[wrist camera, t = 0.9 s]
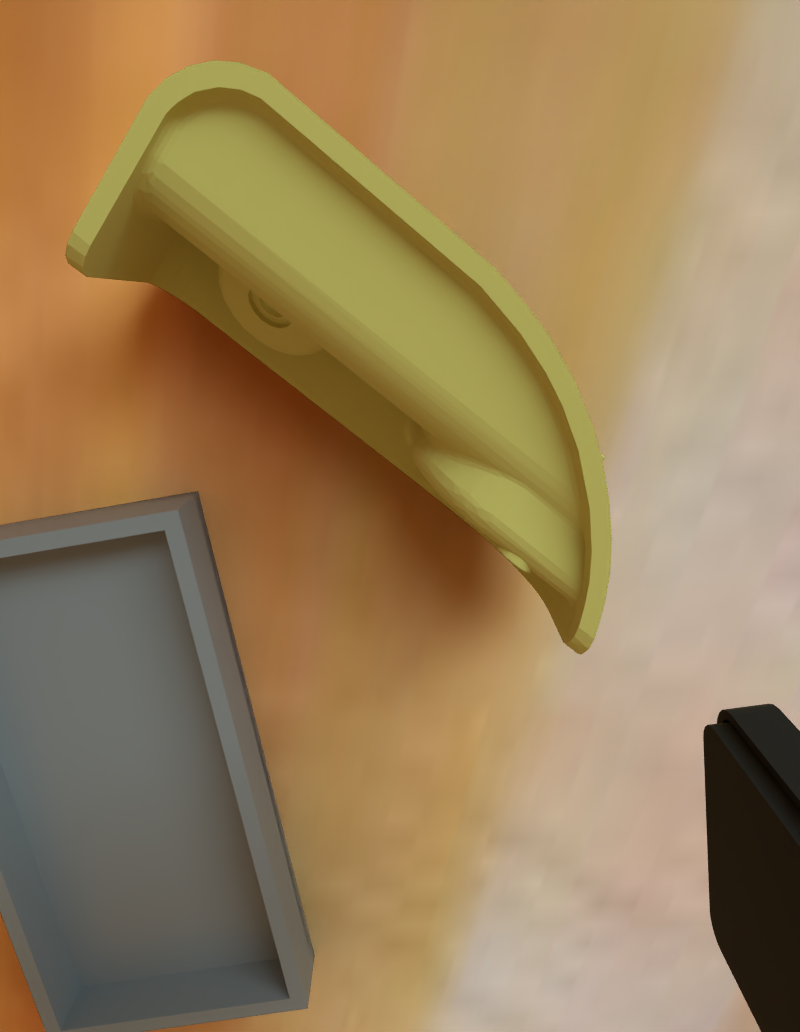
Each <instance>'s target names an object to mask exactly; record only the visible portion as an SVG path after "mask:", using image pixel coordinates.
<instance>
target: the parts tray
mask: <svg viewBox="0 0 800 1032" xmlns="http://www.w3.org/2000/svg"><path fill="white" fill-rule="evenodd" d="M0 913H1V915H2V918H3V921H4V923H5V926H6V928H7V931H8V934H9V936H10V939H11V942H12V944H13V947H14V950H15V952H16V955H17V957H18V960H19V963H20V965H21V968H22V971H23V973H24V976H25V978H26V981H27V984H28V986H29V989H30V992H31V994H32V997H33V1000H34V1002H35V1005H36V1007H37V1010H38V1013H39V1015H40V1018H41V1021H42V1023H43V1026H44V1028H45V1031H46V1032H143V1031H150V1030H158V1029H165V1028H172V1027H179V1026H186V1025H193V1024H200V1023H207V1022H214V1021H222V1020H229V1019H236V1018H243V1017H250V1016H257V1015H264V1014H271V1013H278V1012H286V1011H293V1010H300V1009H307V1008H308V1002H309V994H310V987H311V979H312V971H313V963H314V952H313V948H312V944H311V940H310V936H309V932H308V928H307V924H306V920H305V916H304V912H303V908H302V904H301V900H300V896H299V892H298V888H297V884H296V880H295V876H294V872H293V868H292V864H291V860H290V856H289V852H288V848H287V844H286V840H285V836H284V832H283V828H282V824H281V820H280V816H279V813H278V809H277V805H276V801H275V797H274V793H273V789H272V785H271V781H270V777H269V773H268V769H267V765H266V761H265V757H264V753H263V749H262V745H261V741H260V737H259V733H258V729H257V725H256V721H255V717H254V713H253V709H252V705H251V701H250V697H249V693H248V689H247V685H246V681H245V677H244V673H243V669H242V665H241V661H240V658H239V654H238V650H237V646H236V642H235V638H234V634H233V630H232V626H231V622H230V618H229V614H228V610H227V606H226V602H225V598H224V594H223V590H222V586H221V582H220V578H219V574H218V570H217V566H216V562H215V558H214V554H213V550H212V546H211V542H210V538H209V534H208V530H207V526H206V522H205V518H204V514H203V510H202V506H201V502H200V499H199V495H198V491H197V492H191V493H185V494H179V495H173V496H167V497H162V498H156V499H150V500H144V501H138V502H132V503H127V504H121V505H115V506H109V507H103V508H97V509H92V510H86V511H80V512H74V513H68V514H62V515H57V516H51V517H45V518H39V519H33V520H28V521H22V522H16V523H10V524H4V525H0Z"/></svg>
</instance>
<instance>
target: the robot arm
mask: <svg viewBox="0 0 800 1032" xmlns="http://www.w3.org/2000/svg"><path fill="white" fill-rule="evenodd" d="M704 765H705V792H706V819H707V845H708V872H709V899H710V916H711V922H712V926H713V930H714V934H715V937H716V940H717V943H718V945H719V947H720V950H721V952H722V954H723V956H724V958H725V960H726V962H727V964H728V966H729V968H730V970H731V972H732V974H733V976H734V978H735V980H736V982H737V984H738V986H739V988H740V990H741V992H742V994H743V996H744V998H745V1000H746V1002H747V1004H748V1006H749V1008H750V1010H751V1012H752V1014H753V1016H754V1018H755V1020H756V1022H757V1024H758V1026H759V1028H760V1030H761V1032H800V731H799V730H798V729H797V728H796V727H795V726H794V724H793V723H792V722H791V721H790V720H789V719H788V718H787V717H786V716H785V715H784V714H783V713H782V712H781V710H780V709H779V708H777V707H776V706H775V705H773V704H764V705H756V706H749V707H741V708H733V709H726V710H722V711H721V712H720V713H719V715H718V719H717V724H712V725H707V726H706V727H705V729H704Z"/></svg>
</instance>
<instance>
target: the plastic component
mask: <svg viewBox="0 0 800 1032" xmlns="http://www.w3.org/2000/svg"><path fill="white" fill-rule="evenodd" d="M65 256H66V258H67V261H68V264H70V265H71V266H73V267H74V268H75V269H77V270H78V271H79V272H81V273H82V274H83V275H85V276H86V277H94V278H104V279H115V280H126V281H136V282H147V283H150V284H153V285H155V286H158V287H159V288H161V289H163V290H165V291H167V292H169V293H170V294H172V295H174V296H175V297H177V298H178V299H180V300H181V301H183V302H184V303H186V304H187V305H189V306H190V307H191V308H193V309H194V310H196V311H197V312H198V313H200V314H201V315H202V316H203V317H205V318H206V319H207V320H209V321H210V322H211V323H212V324H214V325H215V326H216V327H218V328H219V329H220V330H221V331H223V332H224V333H225V334H227V335H228V336H229V337H230V338H232V339H233V340H234V341H236V342H237V343H238V344H239V345H241V346H242V347H243V348H245V349H246V350H247V351H248V352H250V353H251V354H252V355H253V356H255V357H256V358H257V359H259V360H260V361H261V362H262V363H264V364H265V365H266V366H268V367H269V368H270V369H271V370H273V371H274V372H275V373H277V374H278V375H279V376H280V377H282V378H283V379H284V380H286V381H287V382H288V383H289V384H291V385H292V386H293V387H295V388H296V389H297V390H298V391H300V392H301V393H302V394H304V395H305V396H306V397H307V398H309V399H310V400H311V401H312V402H314V403H315V404H316V405H318V406H319V407H320V408H321V409H323V410H324V411H325V412H327V413H328V414H329V415H330V416H332V417H333V418H334V419H336V420H337V421H338V422H339V423H341V424H342V425H343V426H345V427H346V428H347V429H348V430H350V431H351V432H352V433H354V434H355V435H356V436H357V437H359V438H360V439H361V440H362V441H364V442H365V443H366V444H368V445H369V446H370V447H371V448H373V449H374V450H375V451H377V452H378V453H379V454H380V455H382V456H383V457H384V458H386V459H387V460H388V461H389V462H391V463H392V464H393V465H395V466H396V467H397V468H398V469H400V470H401V471H402V472H404V473H405V474H406V475H407V476H409V477H410V478H411V479H412V480H414V481H415V482H416V483H418V484H419V485H420V486H421V487H423V488H424V489H425V490H426V491H428V492H429V493H430V494H432V495H433V496H434V497H435V498H437V499H438V500H439V501H440V502H442V503H443V504H444V505H445V506H447V507H448V508H449V509H450V510H452V511H453V512H454V513H455V514H457V515H458V516H459V517H460V518H461V519H463V520H464V521H465V522H466V523H468V524H469V525H470V526H471V527H472V528H473V529H475V530H476V531H477V532H478V533H479V534H481V535H482V536H483V537H484V538H485V539H486V540H487V541H488V542H490V543H491V544H492V545H493V546H494V547H495V548H496V549H497V550H498V551H499V552H500V553H502V554H503V555H504V556H505V557H506V558H507V559H508V560H509V561H510V562H511V563H512V564H513V565H514V566H515V567H516V568H517V569H518V571H519V572H520V573H521V574H522V575H523V576H524V577H525V578H526V579H527V580H528V582H529V583H530V584H531V585H532V586H533V587H534V589H535V590H536V591H537V593H538V594H539V595H540V597H541V598H542V600H543V601H544V603H545V605H546V607H547V608H548V610H549V612H550V614H551V617H552V619H553V621H554V623H555V625H556V627H557V629H558V632H559V634H560V636H561V638H562V640H563V642H564V643H565V644H566V645H567V646H569V647H570V648H571V649H573V650H574V651H575V652H576V653H578V654H583V653H584V652H585V651H587V650H588V649H589V648H590V646H591V644H592V642H593V640H594V638H595V635H596V632H597V629H598V626H599V623H600V619H601V615H602V612H603V608H604V604H605V599H606V593H607V588H608V582H609V576H610V564H611V541H612V537H611V520H610V504H609V497H608V491H607V485H606V478H605V472H604V466H603V462H602V461H603V460H604V458H605V457H604V456H603V455H602V454H601V453H600V451H599V447H598V443H597V439H596V435H595V431H594V428H593V425H592V422H591V420H590V417H589V415H588V412H587V410H586V407H585V405H584V402H583V400H582V397H581V395H580V392H579V389H578V387H577V384H576V382H575V379H574V378H573V376H572V374H571V372H570V371H569V369H568V367H567V366H566V364H565V362H564V360H563V359H562V357H561V355H560V353H559V352H558V350H557V348H556V347H555V345H554V343H553V341H552V340H551V338H550V336H549V335H548V333H547V332H546V331H545V329H544V328H543V326H542V325H541V324H540V322H539V321H538V320H537V318H536V317H535V316H534V314H533V313H532V312H531V310H530V309H529V307H528V306H527V305H526V303H525V302H524V301H523V300H522V299H521V298H520V297H519V295H518V294H517V293H516V292H515V291H514V290H513V288H512V287H511V286H510V285H509V284H508V283H507V281H506V280H505V279H504V278H503V277H502V276H501V274H500V273H499V272H498V271H497V270H496V269H495V268H494V267H493V266H492V265H491V264H490V263H489V262H487V261H486V260H485V259H484V258H483V257H482V256H480V255H479V254H478V253H477V252H476V251H475V250H473V249H472V248H471V247H470V246H469V245H468V244H466V243H465V242H464V241H463V240H462V239H461V238H460V237H458V236H457V235H456V234H455V233H454V232H453V231H451V230H450V229H449V228H448V227H447V226H446V225H444V224H443V223H442V222H441V221H440V220H439V219H437V218H436V217H435V216H434V215H433V214H432V213H430V212H429V211H428V210H427V209H426V208H425V207H423V206H422V205H421V204H420V203H419V202H418V201H416V200H415V199H414V198H413V197H412V196H411V195H409V194H408V193H407V192H406V191H405V190H404V189H402V188H401V187H400V186H399V185H398V184H397V183H395V182H394V181H393V180H392V179H391V178H390V177H388V176H387V175H386V174H385V173H384V172H383V171H381V170H380V169H379V168H378V167H377V166H376V165H374V164H373V163H372V162H371V161H370V160H369V159H367V158H366V157H365V156H364V155H363V154H362V153H360V152H359V151H358V150H357V149H356V148H355V147H353V146H352V145H351V144H350V143H349V142H348V141H346V140H345V139H344V138H343V137H342V136H341V135H339V134H338V133H337V132H336V131H335V130H334V129H332V128H331V127H330V126H329V125H328V124H327V123H325V122H324V121H323V120H322V119H321V118H320V117H318V116H317V115H316V114H315V113H314V112H313V111H311V110H310V109H309V108H308V107H307V106H306V105H304V104H303V103H302V102H301V101H300V100H299V99H297V98H296V97H295V96H294V95H293V94H292V93H290V92H289V91H288V90H287V89H286V88H285V87H283V86H282V85H281V84H280V83H279V82H278V81H276V80H275V79H274V78H273V77H272V76H271V75H269V74H268V73H266V72H263V71H261V70H258V69H256V68H253V67H250V66H248V65H245V64H243V63H239V62H227V61H215V60H214V61H209V62H204V63H200V64H195V65H190V66H187V67H186V68H184V69H182V70H180V71H178V72H177V73H175V74H173V75H171V76H169V77H168V78H166V79H165V80H164V81H163V82H162V83H161V84H160V85H159V86H158V87H157V88H156V89H155V90H154V91H153V92H152V93H151V94H150V95H149V96H148V97H147V99H146V101H145V102H144V104H143V106H142V108H141V110H140V111H139V113H138V115H137V117H136V118H135V120H134V122H133V124H132V126H131V127H130V129H129V131H128V133H127V135H126V136H125V138H124V140H123V142H122V144H121V145H120V147H119V149H118V151H117V153H116V154H115V156H114V158H113V160H112V161H111V163H110V165H109V167H108V169H107V170H106V172H105V174H104V176H103V178H102V179H101V181H100V183H99V185H98V187H97V188H96V190H95V192H94V194H93V196H92V197H91V199H90V201H89V203H88V205H87V206H86V208H85V210H84V212H83V213H82V215H81V217H80V219H79V221H78V222H77V224H76V226H75V228H74V230H73V231H72V234H71V236H70V238H69V241H68V243H67V249H66V255H65Z"/></svg>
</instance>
